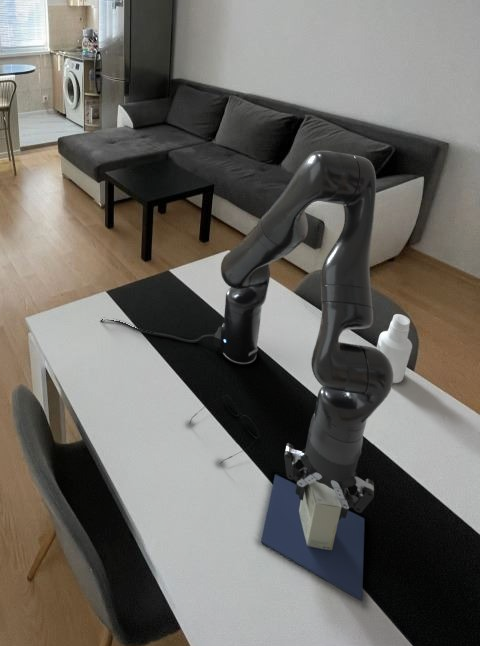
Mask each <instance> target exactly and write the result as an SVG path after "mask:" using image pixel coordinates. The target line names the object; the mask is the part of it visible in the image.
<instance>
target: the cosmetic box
mask: <svg viewBox="0 0 480 646" xmlns="http://www.w3.org/2000/svg"><path fill="white" fill-rule="evenodd" d="M341 508H342V506H341V503H340V501H339V499H338V498H337V496H336V493H335V491H334V490H333V489H331V488H329V487H328V486H326V485H325V484H322V483H319V482H317V481H315V482H313V483H312V484H310V485H309V484H307V485H306V487H305V492H304V497H303V501H302V500H301V503H300V509H299V513H300V518H301V522H302V527H303V531H304V535H305V539H306V543H307V546H310V547H315V548H320V549H326V550H332V548H333V543H334V539H335V534H336V530H337V525H338V521H339V516H340V512H341Z"/></svg>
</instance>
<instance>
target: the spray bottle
mask: <svg viewBox="0 0 480 646" xmlns="http://www.w3.org/2000/svg"><path fill="white" fill-rule="evenodd" d="M410 324H411V320H410V318H408V316H406V315H404V314H400V313H396V314H394V315H393V317H392V319H391V321H390V324H389V327H388V329H387V330H383V331H382V332H380V334H379V336H378V339H377V344H376V348H375V349H377V350H379V351H381V352H382V353H383V354H384V355H385V356H386V357H387V358H388V360H389V361H390V363H391V366H392V369H393V384H398V383H401V382H402V381H403V380H404V377H405V373H406V371H407V368H408V367H407V366H408V363H409V360H410V356H411V353H412V350H413V343H412V342H411V340H410V339H409V338H408V337H409V333H410Z"/></svg>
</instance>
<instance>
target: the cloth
mask: <svg viewBox="0 0 480 646" xmlns="http://www.w3.org/2000/svg"><path fill="white" fill-rule="evenodd" d="M296 485H297V483H294V482H292V481H291V480H289V479H286V478H284V477H282V476H280V475H278V474H274V477H273V483H272V488H271V493H270V497H269V502H268V506H267V511H266V515H265V520H264V525H263V529H262V536H261V539H260V543H261V544H263V545H264V546H266V547H268V548H270V549H272V550H273V551H275V552H277V554H279V555H281V556H284V557H285V558H287V559H289V560H290V561H291V562H294V563H295V564H297V565H298V566H300V567H302V568H304V569H306V570H307V571H309V572H310V573H312V574H314V575H315V576H317V577H320V578H321V579H322V580H324V581H326V582H328V583H330V584H331V585H333V586H335V587H337V588H338V589H340V590H341V591H343V592H345V593H346V594H349V595H350V596H352V597H353V598H356V599H357V600H359V601H360V602H363V589H364V588H363V586H364V558H365V557H364V556H365V553H364V552H365V551H364V549H365V524H366V523H365V521H366V519H365V518H364V517H362V516H360V515H358V514H356V513H354V512H353V511H350V510H348V512H347V516H346V518H343V517H341V520H340V519H339V521H338V525H337V530H336V534H335V539H334V543H333V548H332V550H326V549H320V548H315V547H310V546H307V543H306V539H305V535H304V531H303V527H302V522H301V518H300V513H299V509H300V503H301V500H300V499H299V495H297V494H296V492H295V491H296Z"/></svg>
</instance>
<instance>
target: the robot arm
mask: <svg viewBox="0 0 480 646" xmlns="http://www.w3.org/2000/svg"><path fill="white" fill-rule="evenodd" d="M376 194H377V176H376V170H375V167H374V165H373V162H371V160H369V159H368V158H366V157H365V156H360V155H357V154H350V153H345V152H344V153H343V152H337V151H331V150H315V151H312V152H311V153H309V155H308V156H306V157H305V159H304V160H303V161H302V162H301V163H300V165H299V166H298V167H297V169H296V171H295V173H294V174H293V176H292V178H291V179H290V181H289V182H288V184H287V185H286V187H285V189H284V190H283V191H282V193H281V194H280V196H279V197H278V198H277V199H276V200H275V202H273V204H272V205H271V207H269V209H268V210H266V212H265V213H264V214H263V215H262V217H261V218H260V219H259V220H258V221H257V222H256V223H255V225H254V227H253V228H252V229H251V230H250V231H249V232H248V233H247V234H246V236H244V238H242V240H241V242H240V243H238V244H237V245H235V247H234V248H233V249H231V250H230V251H229V252H227V253H226V254H225V255H224V256H223V258H222V260H221V263H220V274H221V277H222V280H223V281H224V283H225V284H226V285H227V286H228V287H229V289H227V291H226V293H225V301H224V302H225V304H224V313H223V314H224V315H223V323H222V326H218V328H217V331H216V332H215V333H213V334H204V335H201V336H200V337H198V338H197V339H185V338H182V337H179V336H175V335H172V334H167V333H161V332H157V331H156V332H155V331H153V332H154V333H151V332H152V331H151V330H149V331H150V332H147V331H148V330H146V331H143V330H144V329H142V328H139V327H137V328H139V329H137V328H135V327H136V326H134V325H132V326H134V327H132V326H130V325H131V324H130V325H128V324H129V323H128V324H126V323H127V322H126V321H123V322H125V323H123V322H120V321H121V320H119V319H118V320H119V321H114V320H109V322H113V323H117V324H120V325H124V326H125V327H128V328H131V329H133V330H134V331H137V332H140V333H143V334H147V335H151V336H156V337H163V338H168V339H173V340H175V341H179V342H183V343H188V344H198V343H200V342H201V341H203V340H205V339H208V338H209V339H211V338H213V346H215V347H216V348H219V352H218V353H219V354H220V355H222V356H223V357H224V358H225V359H226V360H227V362H229V363H232V364H234V365H238V366H250V365H252V364H253V363H254V362H255V361H256V359H257V352H258V351H259V347H258V342H259V334H260V326H261V317H262V309H263V305H264V304H265V302H266V300H267V294H268V289H269V283H270V279H271V266H270V264H272V263H274V262H276V261H278V260H280V259H282V258H284V257H286V256H287V255H289V254H291V253H292V252H293V251H294V250H296V248H297V247H299V245H301V244H302V243H303V242H304V240H305V239H306V238H307V235H308V231H309V224H308V218H307V214H306V209H307V208H308V207H309V206H311V205H312V204H314V203H316V202H322V203H329V204H336V205H342V206H343V212H344V222H343V226H342V230H341V232H340V234H339V237H338V238H337V240H336V241H335V243H334V245H333V246H332V248H330V250H329V252H328V254H327V256H326V258H325V259H324V262H323V264H322V267H321V271H320V272H321V273H320V294H321V295H320V296H321V318H320V324H319V329H318V333H317V334H318V335H317V337H316V340H315V344H314V348H313V351H312V355H311V364H310V365H311V371H312V373H313V376H314V379H316V381H317V382H318V383H319V385H321V388H320V389H319V390H318V392H317V397H316V403H315V407H314V412H313V414H312V416H311V420H310V423H309V428H308V434H307V439H306V444H305V448H304V449H302V450H298V449H295V448H294V445H293V444H291V443H289V442H288V443H286V444H285V449H284V454H283V459H284V466H285V474H286V477H287V479H288V480H290V481H291V480H292V481H295V482H296V491H295V492H296V494H297V495H299V499H300V500H302V501H303V497H304V492H305V487H306V485H307V484H309V485H310V484H312V483H313V482H315V481H317V482H319V483H322V484H325V485H326V486H328V487H329V488H331V489H333V490H334V491H335V493H336V496H337V498H338V499H339V501H340V503H341V506H342V508H341V512H340V516H339V519H340V520H341V517H343V518H346V516H347V512H348V511H349V509H353V510H354V511H355V512H356V513H360V514H361V513H363V512H364V511H365V509H366V508H367V507H368V505H370V503H371V501H372V500H373V499H374V497H375V483H374V481H373V480H371V479H370V478H366V479H365V480H363V479H362V478H360V477H358V476H357V472H356V471H357V467H358V463H359V459H360V457H361V455H362V448H363V443H364V441H363V440H364V432H365V429H366V426H367V425H366V424H367V422H368V419H369V418H370V417H371V416H372V414H373V413H374V412H375V411H376V410H377V409H378V408H379V407H380V406H381V405H382V404H383V402H384V401H385V400H386V398H387V397H388V396H389V394H390V393H391V390H392V387H393V384H394V383H393V369H392V366H391V363H390V361H389V360H388V358H387V357H386V356H385V355H384V354H383V353H382V352H381V351H379V350H377V349H376V348H375V347H372V346H367V345H362V344H361V345H360V344H354V343H345V342H341V341H340V342H339V339H340V336H341V334H342V333H343V332H344V331H349V330H364V329H368V328H371V327H372V326H373V324H374V309H373V298H372V297H373V296H372V286H371V271H370V268H371V267H370V264H371V263H370V262H371V261H370V260H371V248H372V247H371V245H372V238H373V237H372V236H373V228H374V217H375V207H376V196H377V195H376ZM101 319H102V318H101ZM102 320H103V319H102ZM140 329H142V330H140ZM298 460H300V462H301V463H302V464H303V467H302V468H300V469H298V468H297V466H296V465H297V464H296V463H298ZM354 486H356V488H357V490H356V492H355V493H354V494H350V491H349V489H348V488H351V487H354Z"/></svg>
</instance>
